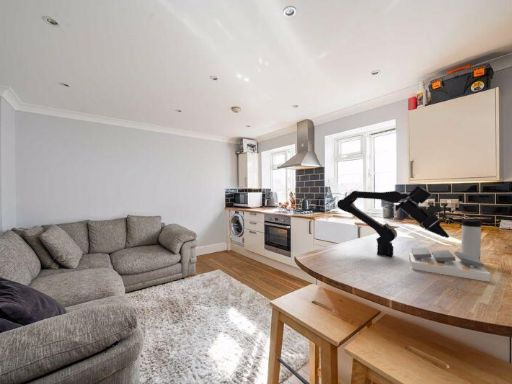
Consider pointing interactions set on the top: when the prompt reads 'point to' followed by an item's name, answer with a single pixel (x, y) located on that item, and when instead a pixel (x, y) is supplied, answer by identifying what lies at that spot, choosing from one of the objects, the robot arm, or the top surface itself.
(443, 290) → the top surface
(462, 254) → the plate
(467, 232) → the travel mug
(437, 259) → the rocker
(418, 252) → the rocker
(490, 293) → the top surface
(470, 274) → the switch unit
